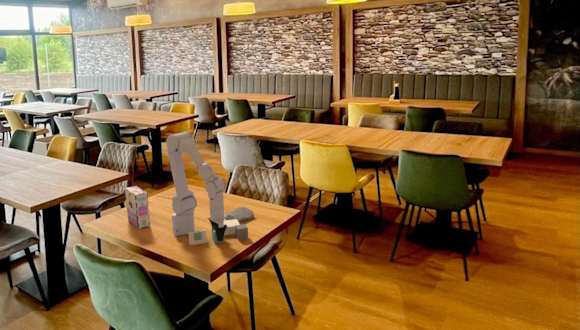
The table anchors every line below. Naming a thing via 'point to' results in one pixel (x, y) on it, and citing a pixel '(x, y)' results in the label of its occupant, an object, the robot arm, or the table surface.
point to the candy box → (137, 207)
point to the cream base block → (230, 226)
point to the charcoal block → (241, 232)
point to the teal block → (216, 237)
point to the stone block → (240, 214)
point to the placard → (197, 237)
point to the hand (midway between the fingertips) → (218, 237)
